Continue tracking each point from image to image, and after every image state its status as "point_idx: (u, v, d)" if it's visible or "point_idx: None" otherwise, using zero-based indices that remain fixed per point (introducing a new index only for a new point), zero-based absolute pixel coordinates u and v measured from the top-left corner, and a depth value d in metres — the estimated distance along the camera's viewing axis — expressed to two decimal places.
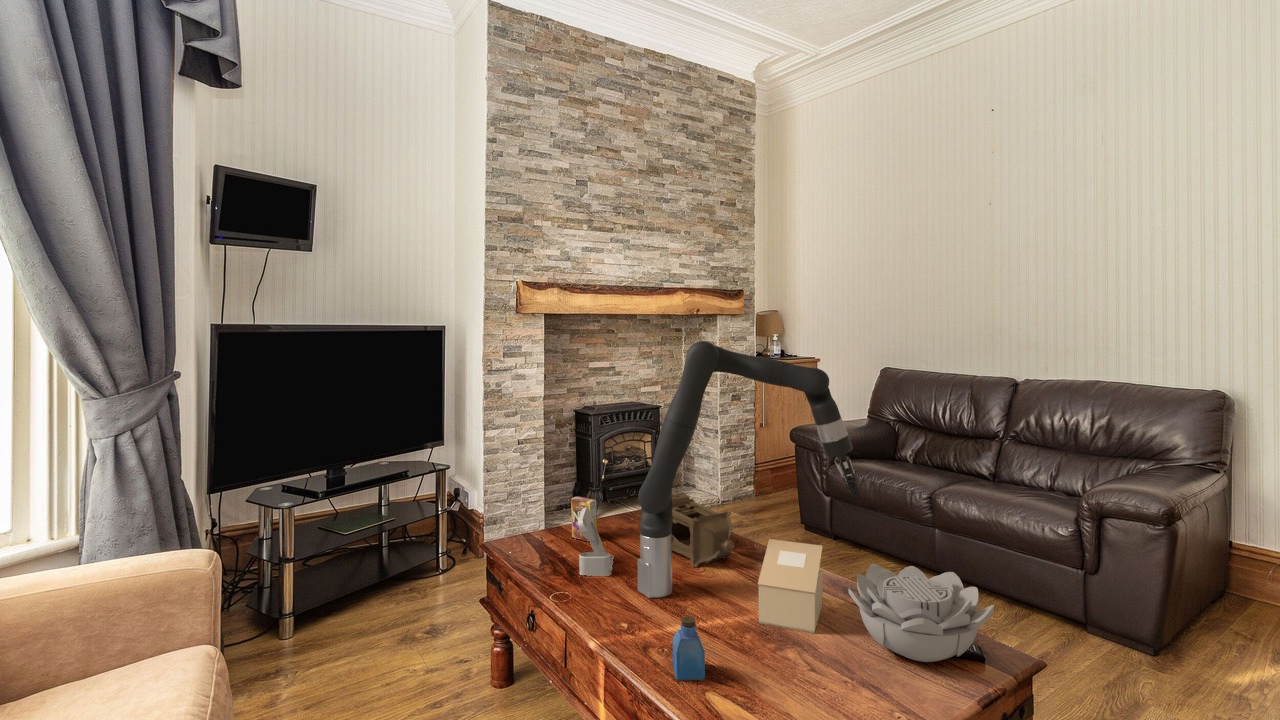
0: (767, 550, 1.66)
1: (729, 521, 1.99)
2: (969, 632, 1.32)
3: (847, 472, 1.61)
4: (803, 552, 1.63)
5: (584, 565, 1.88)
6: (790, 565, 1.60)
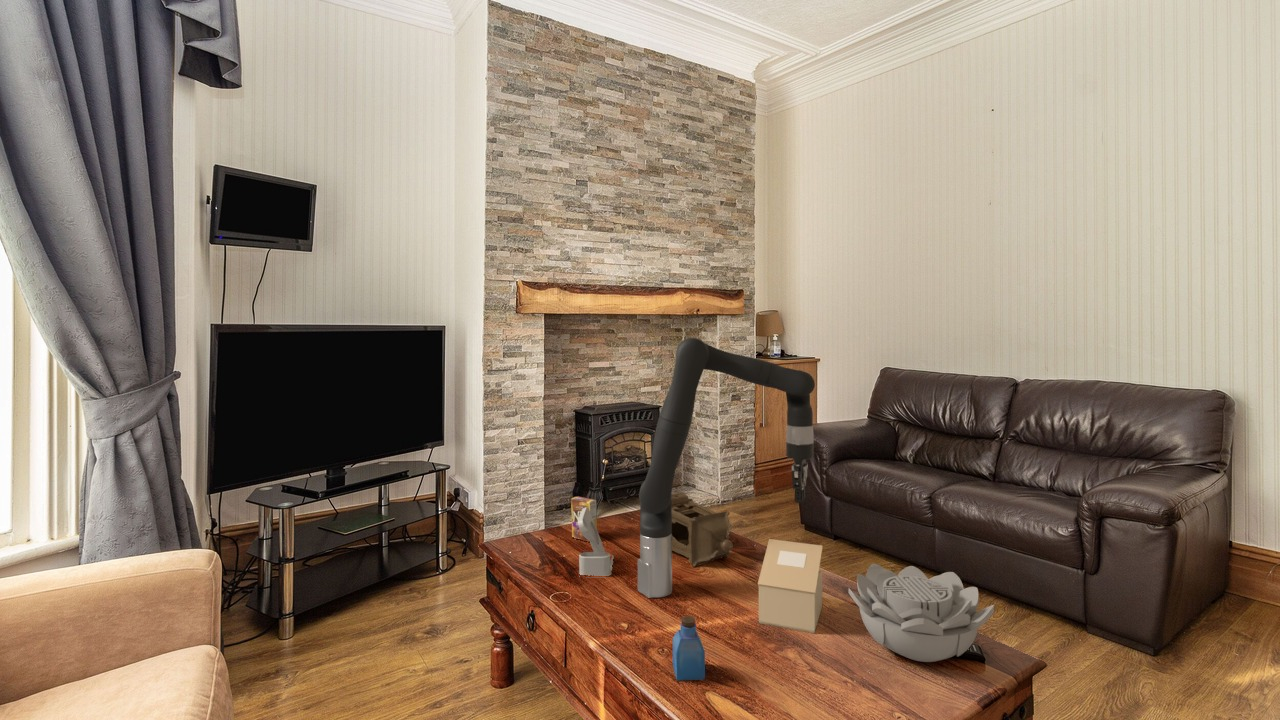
0: (767, 550, 1.66)
1: (727, 521, 1.99)
2: (969, 632, 1.32)
3: (795, 480, 1.68)
4: (803, 552, 1.63)
5: (584, 565, 1.88)
6: (790, 565, 1.60)
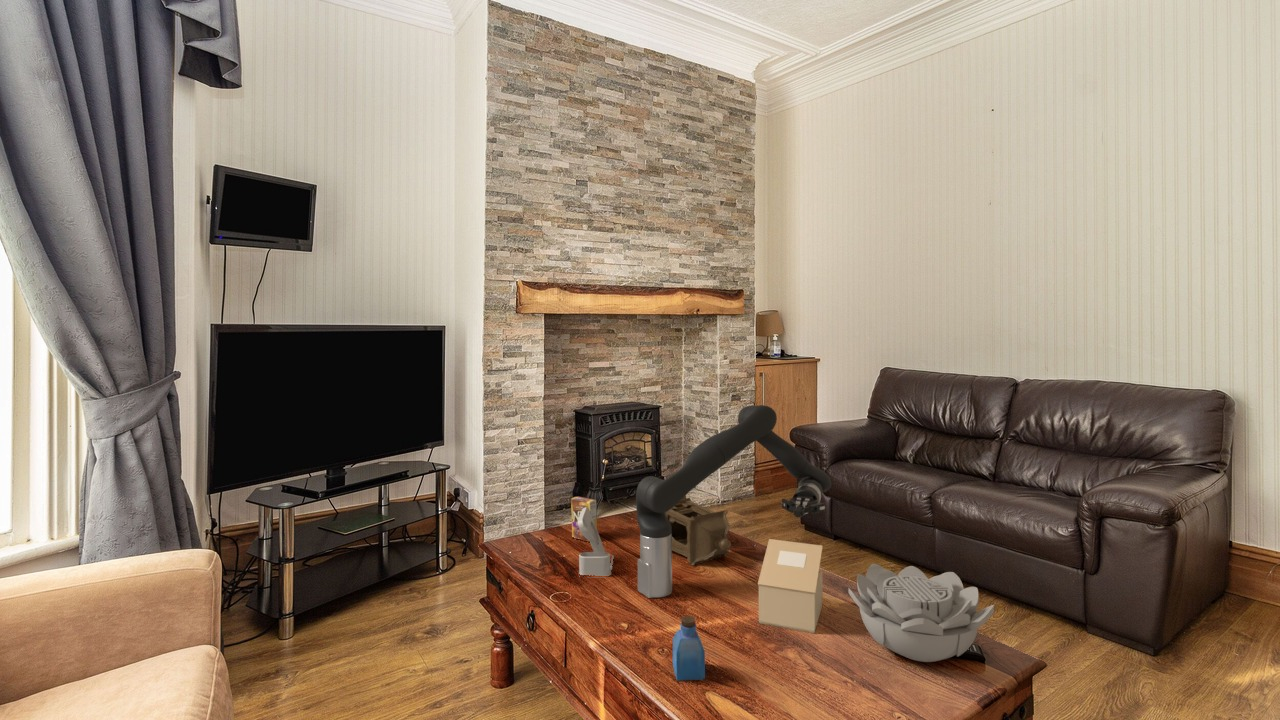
0: (767, 550, 1.66)
1: (726, 520, 2.00)
2: (969, 632, 1.32)
3: (818, 508, 1.75)
4: (803, 552, 1.63)
5: (584, 565, 1.88)
6: (790, 565, 1.60)
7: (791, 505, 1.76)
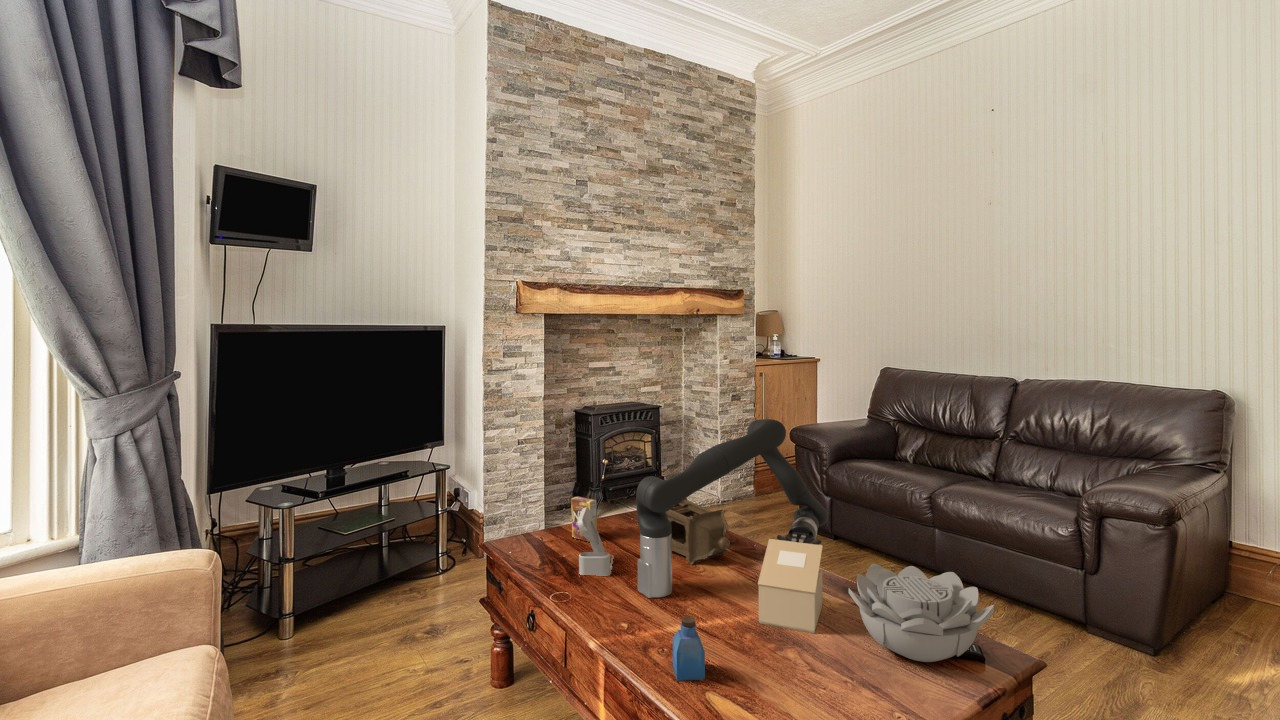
0: (767, 550, 1.66)
1: (724, 519, 2.02)
2: (969, 632, 1.32)
3: None
4: (803, 552, 1.63)
5: (584, 565, 1.88)
6: (790, 565, 1.60)
7: None
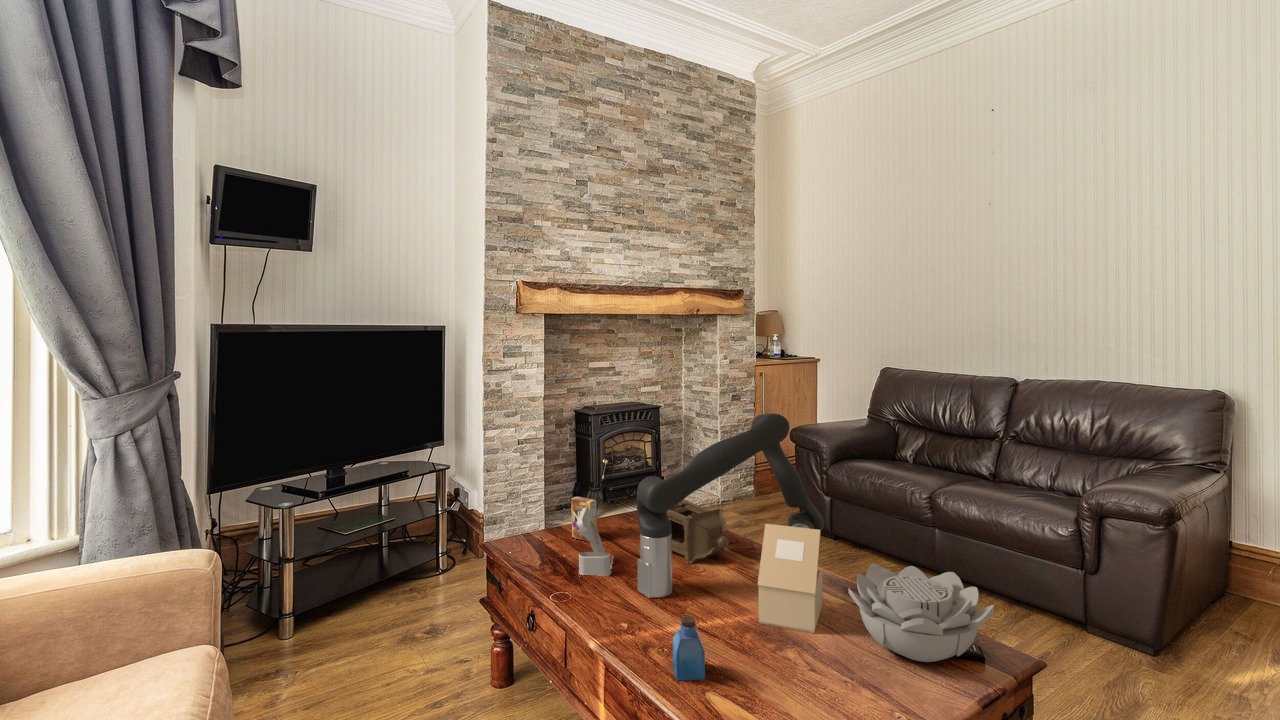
0: (764, 539, 1.62)
1: (722, 518, 2.03)
2: (969, 632, 1.32)
3: None
4: (801, 540, 1.59)
5: (584, 565, 1.88)
6: (788, 558, 1.57)
7: None
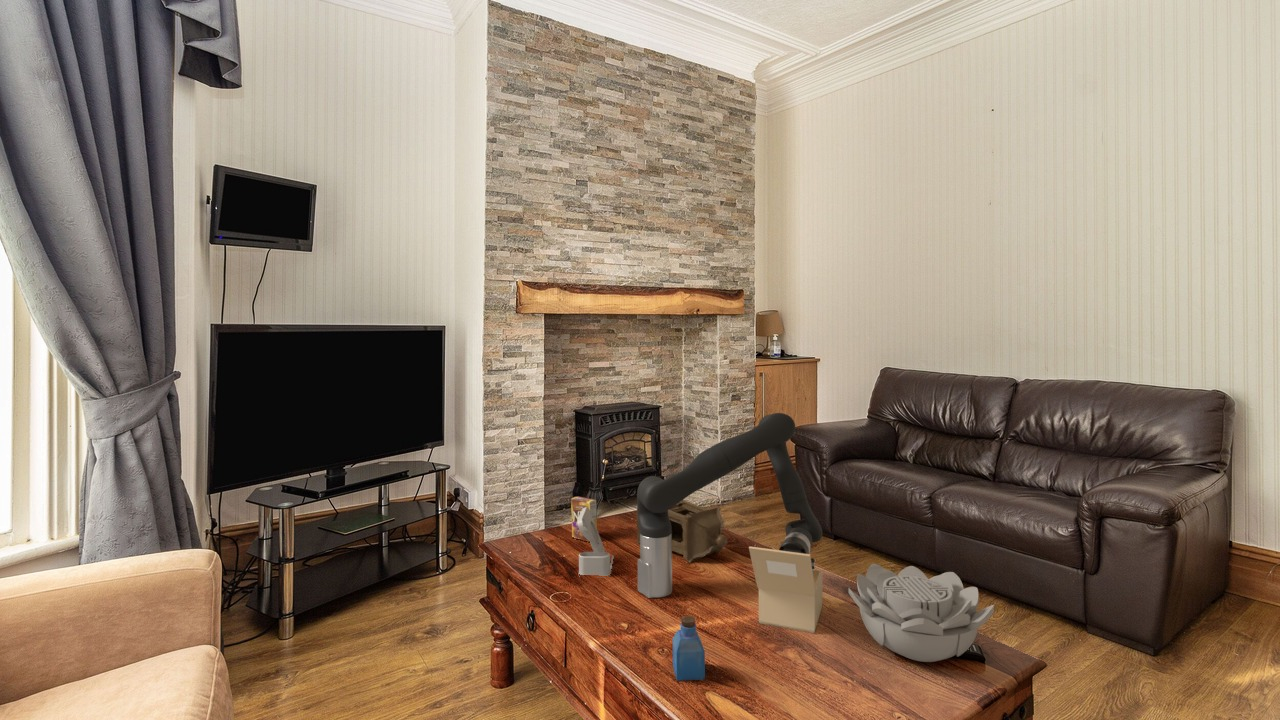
0: (752, 559, 1.50)
1: (720, 516, 2.04)
2: (969, 632, 1.32)
3: None
4: (791, 562, 1.45)
5: (583, 565, 1.88)
6: (782, 574, 1.49)
7: None
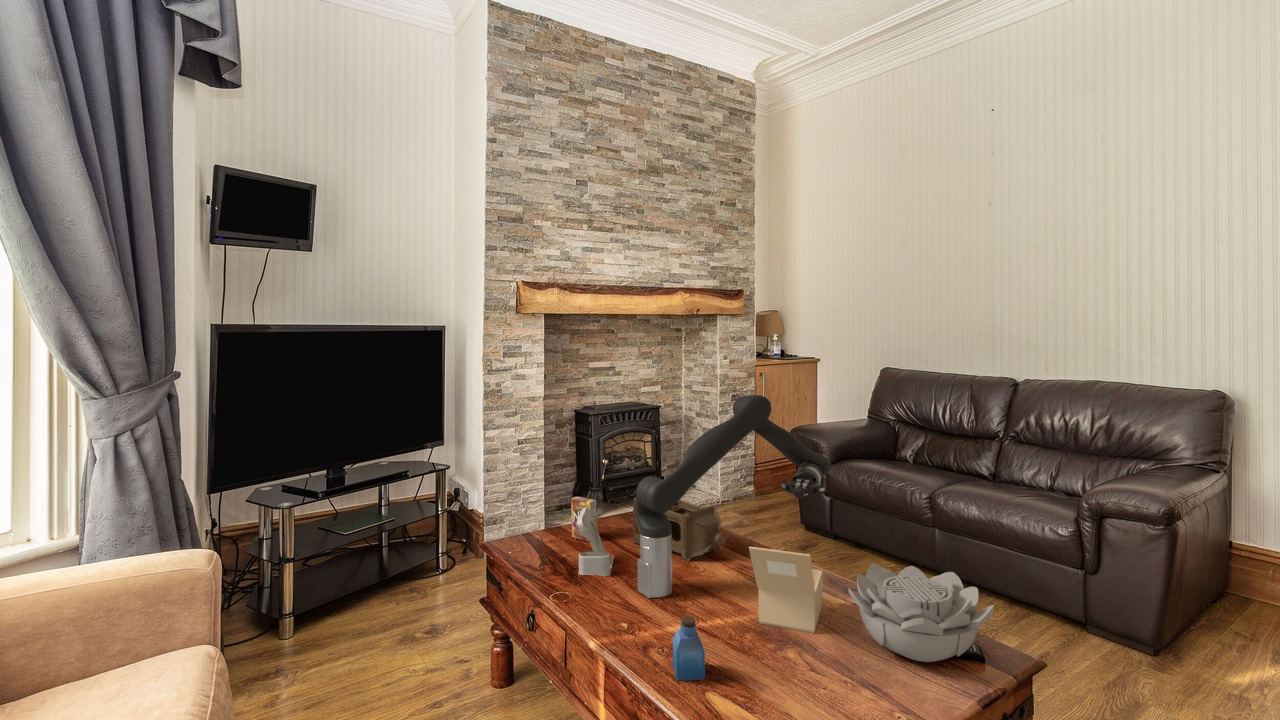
0: (752, 559, 1.49)
1: (717, 515, 2.06)
2: (969, 632, 1.32)
3: (818, 489, 1.75)
4: (791, 562, 1.45)
5: (583, 565, 1.88)
6: (782, 574, 1.49)
7: (791, 486, 1.75)
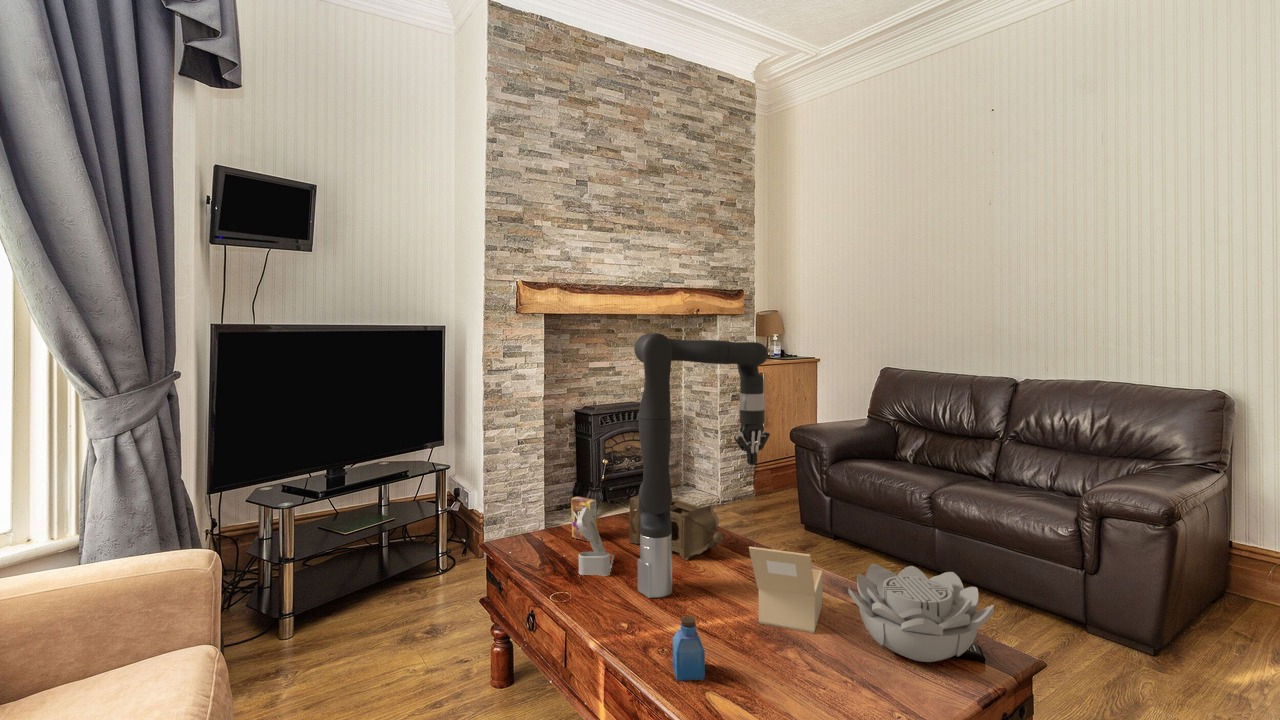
0: (752, 559, 1.49)
1: (714, 514, 2.07)
2: (969, 632, 1.32)
3: None
4: (791, 562, 1.45)
5: (583, 565, 1.88)
6: (782, 574, 1.49)
7: (747, 451, 1.82)
